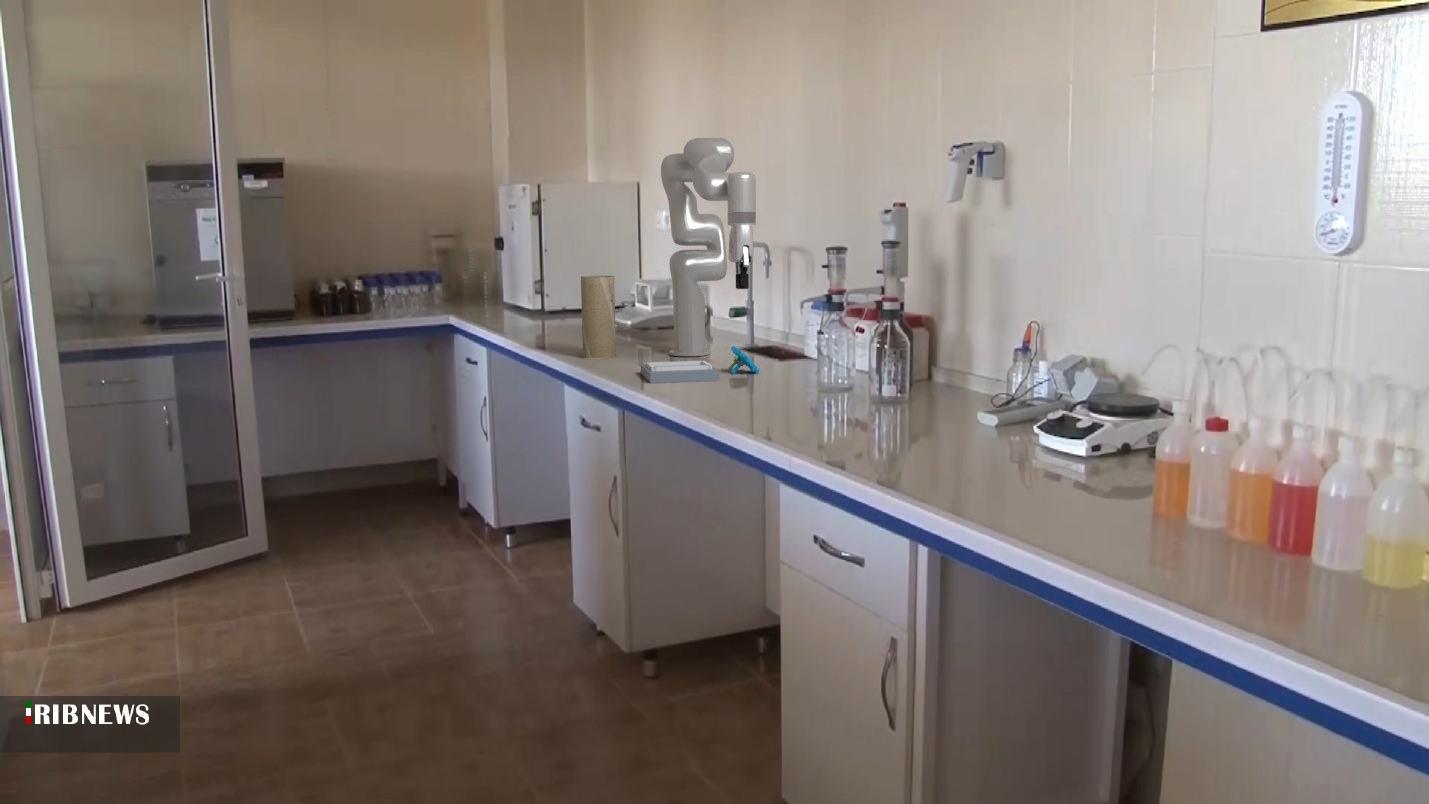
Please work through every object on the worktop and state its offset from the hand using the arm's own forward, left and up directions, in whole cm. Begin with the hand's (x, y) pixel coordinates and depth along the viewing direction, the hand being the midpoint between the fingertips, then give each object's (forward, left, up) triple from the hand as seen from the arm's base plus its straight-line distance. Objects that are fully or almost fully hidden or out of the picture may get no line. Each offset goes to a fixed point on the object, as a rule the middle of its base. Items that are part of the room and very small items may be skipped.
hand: (742, 288), depth 308 cm
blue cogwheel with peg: (0, +3, -24) cm, 24 cm away
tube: (-45, -35, -23) cm, 62 cm away
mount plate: (+2, -18, -23) cm, 29 cm away
